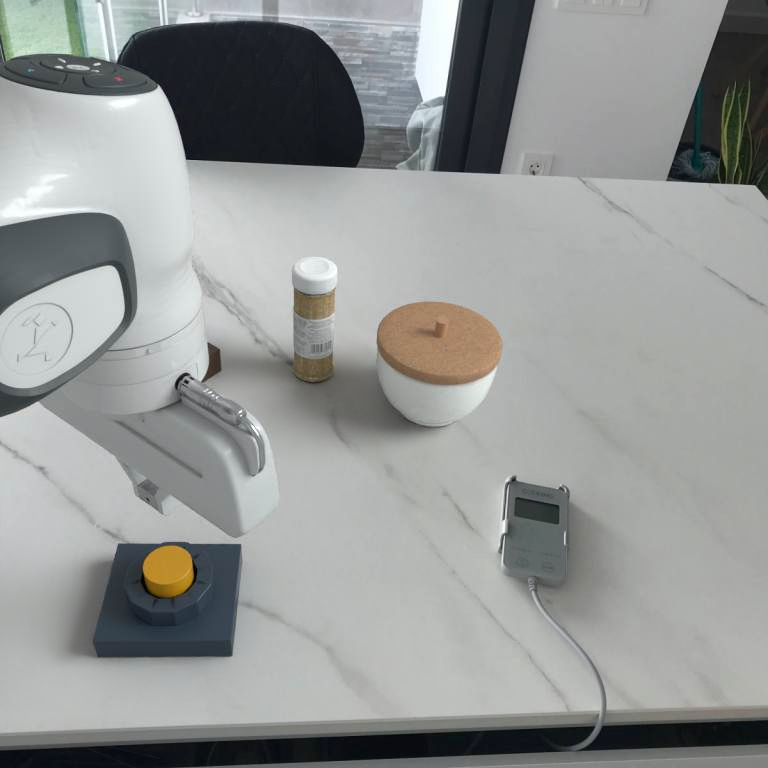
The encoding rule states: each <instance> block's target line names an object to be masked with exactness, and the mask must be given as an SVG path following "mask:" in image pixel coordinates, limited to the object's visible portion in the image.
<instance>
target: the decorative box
mask: <svg viewBox="0 0 768 768" xmlns="http://www.w3.org/2000/svg"><path fill="white" fill-rule="evenodd" d="M376 346H377V347H376V367H377V368H376V371H377V375H378V380H379V385H380V387H381V389H382V392H383V394H384V396H385V397H386V398H387V400H388V402H389V403H390V404H391V406H393V407H394V408H395V409H396V410H397V411H398V412H399V413H400V414H401V415H402V416H403V417H404V418H405V419H406V420H408V421H410V422H411V423H414V424H415V425H419V426H424V427H429V428H439V427H445V426H449V425H451V424H453V423H455V422H456V421H458V420H461V419H463V418H465V417H467V416H468V415H470V414H471V413H473V412H474V411H475V410H476V409H478V407H479V406H480V405H481V403H482V402H483V401H484V400H485V398H486V397H487V395H488V393H489V392H490V390H491V387H492V385H493V382H494V379H495V377H496V374H497V369H498V366H499V363H500V360H501V358H502V353H503V339H502V336H501V334H500V332H499V331H498V329H497V328H496V327H495V325H494V324H493V323H492V322H491V321H490V320H489V319H487V318H486V317H485V316H483V315H481V313H479V312H477V311H474V310H472V309H470V308H467V307H465V306H462V305H459V304H455V303H450V302H445V301H418V302H411V303H408V304H404V305H402V306H399V307H397V308H395V309H392V310H391V311H390V312H388V313H387V314H386V315H385V316H384V317H383V318H382V319H381V321H380V322H379V323H378V327H377V330H376Z"/></svg>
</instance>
